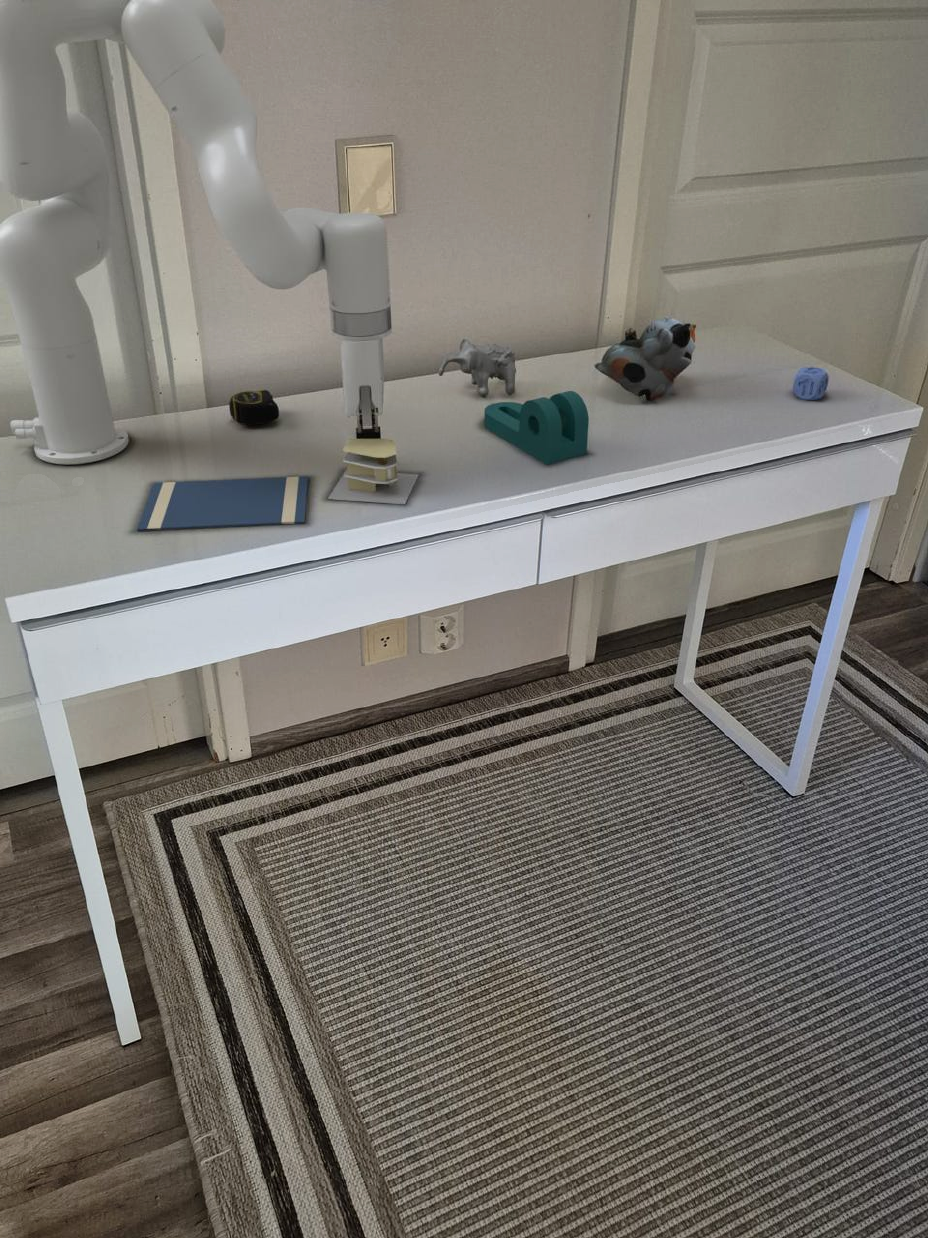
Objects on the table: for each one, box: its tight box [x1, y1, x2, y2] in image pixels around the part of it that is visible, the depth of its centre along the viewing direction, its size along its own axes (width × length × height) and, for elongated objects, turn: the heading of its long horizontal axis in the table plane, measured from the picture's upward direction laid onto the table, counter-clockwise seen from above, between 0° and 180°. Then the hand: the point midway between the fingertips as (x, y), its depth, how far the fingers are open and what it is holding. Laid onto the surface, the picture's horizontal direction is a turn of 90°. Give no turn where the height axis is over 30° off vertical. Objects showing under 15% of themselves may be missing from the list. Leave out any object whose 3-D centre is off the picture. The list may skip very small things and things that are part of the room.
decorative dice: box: [792, 366, 830, 401], centre depth 160 cm, size 4×4×4 cm
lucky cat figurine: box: [594, 317, 697, 402], centre depth 160 cm, size 15×12×14 cm
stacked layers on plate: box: [327, 438, 419, 505], centre depth 132 cm, size 10×9×6 cm
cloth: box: [136, 475, 309, 532], centre depth 130 cm, size 20×13×1 cm, turn 95°
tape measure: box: [228, 389, 280, 426], centre depth 152 cm, size 7×7×4 cm
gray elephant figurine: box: [438, 338, 517, 398], centre depth 161 cm, size 9×12×8 cm
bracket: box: [483, 390, 590, 465], centre depth 145 cm, size 18×7×8 cm, turn 32°
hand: (370, 456), depth 137 cm, fingers closed
